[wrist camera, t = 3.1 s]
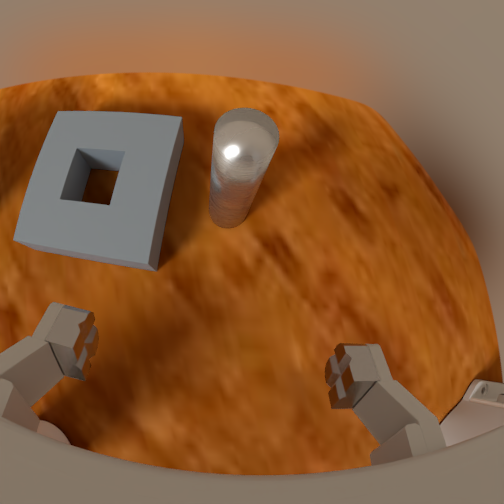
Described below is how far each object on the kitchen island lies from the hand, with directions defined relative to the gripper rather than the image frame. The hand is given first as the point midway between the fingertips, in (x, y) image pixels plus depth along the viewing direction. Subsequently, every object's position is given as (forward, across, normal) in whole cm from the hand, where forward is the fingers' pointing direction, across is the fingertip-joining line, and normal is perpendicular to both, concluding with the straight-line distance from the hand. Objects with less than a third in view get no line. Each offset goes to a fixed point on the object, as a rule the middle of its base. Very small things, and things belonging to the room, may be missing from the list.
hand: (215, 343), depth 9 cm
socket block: (+17, +11, +4) cm, 21 cm away
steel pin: (+17, 0, +4) cm, 18 cm away
